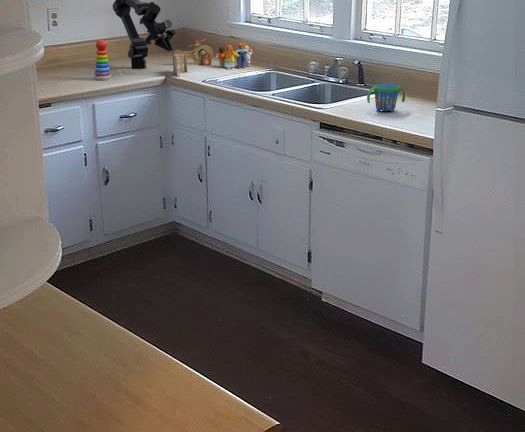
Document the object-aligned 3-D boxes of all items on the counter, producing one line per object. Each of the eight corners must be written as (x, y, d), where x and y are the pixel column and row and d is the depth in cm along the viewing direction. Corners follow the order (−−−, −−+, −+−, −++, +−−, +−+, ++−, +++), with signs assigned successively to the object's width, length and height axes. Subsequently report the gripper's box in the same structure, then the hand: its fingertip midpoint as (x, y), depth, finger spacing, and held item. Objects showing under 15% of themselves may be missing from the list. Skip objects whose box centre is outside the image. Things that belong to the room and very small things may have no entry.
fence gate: (173, 71, 404) (172, 53, 401) (177, 71, 405) (176, 53, 401) (176, 76, 393) (176, 57, 390) (181, 75, 394) (180, 57, 390)
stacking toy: (97, 81, 387) (94, 41, 380) (92, 78, 393) (89, 39, 386) (113, 79, 390) (110, 40, 383) (108, 76, 397) (105, 38, 390)
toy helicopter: (213, 66, 422) (213, 40, 418) (173, 67, 421) (172, 40, 416) (213, 63, 430) (212, 37, 425) (173, 64, 428) (172, 38, 423)
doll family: (251, 65, 426) (251, 40, 421) (259, 68, 418) (259, 42, 413) (214, 68, 417) (213, 42, 413) (221, 71, 409) (221, 45, 405)
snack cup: (401, 107, 337) (403, 83, 333) (407, 113, 327) (408, 88, 323) (364, 107, 336) (365, 83, 332) (368, 113, 326) (370, 88, 323)
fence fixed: (178, 72, 403) (177, 53, 400) (178, 72, 405) (177, 53, 401) (187, 72, 404) (187, 53, 401) (186, 71, 406) (186, 52, 402)
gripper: (149, 16, 383) (169, 41, 382) (172, 12, 398) (191, 37, 397) (136, 31, 389) (155, 57, 388) (159, 27, 404) (178, 52, 403)
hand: (170, 50), depth 394 cm, fingers closed
